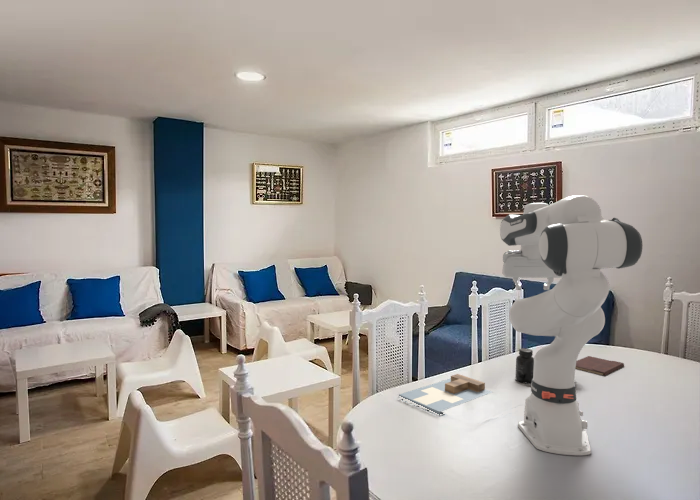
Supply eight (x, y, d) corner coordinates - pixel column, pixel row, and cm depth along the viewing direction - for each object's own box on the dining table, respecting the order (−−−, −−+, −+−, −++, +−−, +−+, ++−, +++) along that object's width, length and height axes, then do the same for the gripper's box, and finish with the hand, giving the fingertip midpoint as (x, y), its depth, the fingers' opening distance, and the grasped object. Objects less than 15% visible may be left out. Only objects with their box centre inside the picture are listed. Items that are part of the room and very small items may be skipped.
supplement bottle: (537, 383, 176) (538, 352, 175) (518, 383, 176) (519, 352, 175) (530, 377, 183) (531, 347, 182) (512, 377, 183) (513, 347, 182)
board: (452, 381, 177) (452, 377, 177) (492, 396, 163) (492, 391, 163) (399, 398, 160) (399, 394, 159) (439, 416, 145) (439, 411, 145)
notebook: (567, 367, 197) (567, 363, 197) (587, 359, 210) (587, 354, 210) (604, 377, 186) (604, 372, 185) (624, 367, 198) (624, 362, 198)
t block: (457, 380, 174) (457, 373, 174) (484, 389, 165) (484, 382, 165) (436, 387, 167) (436, 380, 167) (463, 397, 157) (463, 390, 157)
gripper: (505, 252, 156) (503, 292, 158) (568, 251, 154) (565, 292, 157) (500, 248, 162) (499, 287, 164) (561, 248, 161) (558, 287, 163)
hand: (532, 289), depth 161 cm, fingers open, 8 cm apart
